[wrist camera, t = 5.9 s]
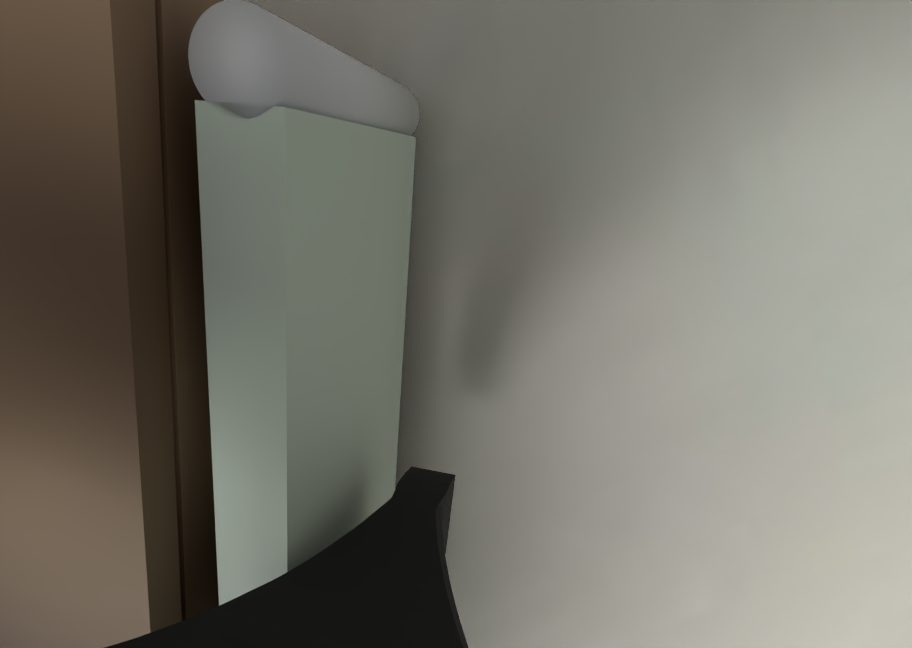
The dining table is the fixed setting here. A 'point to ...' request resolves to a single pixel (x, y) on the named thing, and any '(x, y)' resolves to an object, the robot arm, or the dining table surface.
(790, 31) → the dining table surface
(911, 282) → the dining table surface
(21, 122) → the cabinet
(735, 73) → the dining table surface
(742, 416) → the dining table surface
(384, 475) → the door
